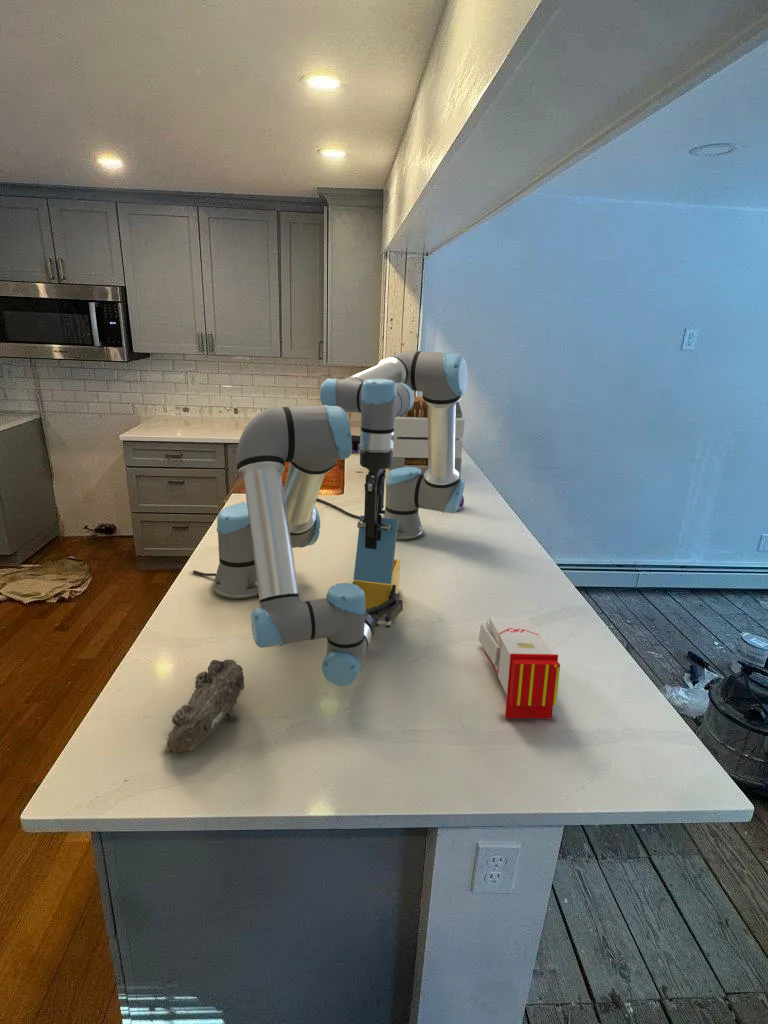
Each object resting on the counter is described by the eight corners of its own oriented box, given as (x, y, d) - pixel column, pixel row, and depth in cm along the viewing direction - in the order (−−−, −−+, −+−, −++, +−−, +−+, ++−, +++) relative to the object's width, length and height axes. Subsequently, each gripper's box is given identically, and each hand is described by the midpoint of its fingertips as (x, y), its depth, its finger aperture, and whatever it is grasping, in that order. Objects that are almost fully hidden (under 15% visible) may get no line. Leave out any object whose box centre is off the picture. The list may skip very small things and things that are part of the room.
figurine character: (361, 456, 305) (361, 447, 319) (361, 443, 302) (362, 434, 315) (348, 456, 305) (350, 446, 318) (349, 442, 302) (350, 433, 315)
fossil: (192, 660, 117) (244, 628, 112) (224, 691, 120) (276, 661, 115) (142, 746, 98) (202, 712, 93) (182, 779, 101) (242, 748, 96)
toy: (525, 603, 136) (569, 660, 107) (520, 654, 139) (562, 725, 109) (475, 601, 135) (505, 659, 106) (471, 653, 138) (499, 724, 109)
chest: (365, 587, 160) (366, 555, 157) (398, 591, 159) (400, 559, 155) (352, 615, 146) (353, 581, 142) (389, 620, 144) (391, 585, 141)
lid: (361, 515, 144) (354, 513, 135) (398, 519, 142) (394, 517, 134) (354, 579, 143) (346, 581, 134) (391, 583, 141) (386, 585, 133)
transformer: (382, 463, 289) (386, 382, 275) (445, 464, 293) (451, 384, 279) (390, 482, 257) (394, 392, 243) (460, 483, 261) (468, 394, 247)
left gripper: (307, 640, 128) (332, 595, 149) (404, 653, 125) (416, 605, 146) (307, 611, 126) (333, 569, 147) (406, 624, 123) (418, 579, 143)
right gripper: (386, 460, 120) (381, 560, 128) (398, 442, 136) (394, 532, 144) (351, 457, 121) (349, 556, 129) (368, 439, 137) (365, 529, 145)
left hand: (374, 587), depth 146 cm, fingers closed on chest, 9 cm apart
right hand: (372, 543), depth 136 cm, fingers open, 5 cm apart
